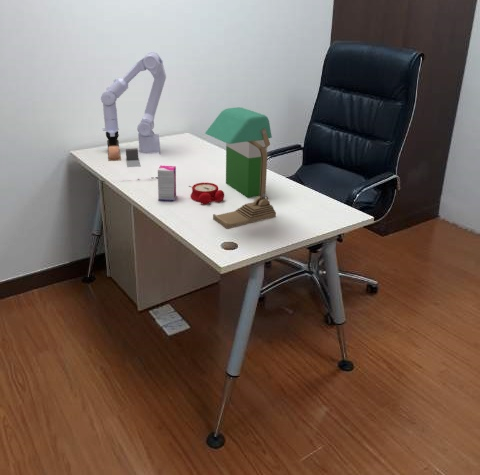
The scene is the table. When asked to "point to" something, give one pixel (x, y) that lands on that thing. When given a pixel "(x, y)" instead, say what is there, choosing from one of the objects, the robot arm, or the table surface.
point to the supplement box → (166, 183)
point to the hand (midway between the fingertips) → (113, 148)
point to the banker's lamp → (256, 128)
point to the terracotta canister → (114, 152)
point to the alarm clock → (206, 193)
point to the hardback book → (244, 167)
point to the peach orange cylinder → (108, 151)
